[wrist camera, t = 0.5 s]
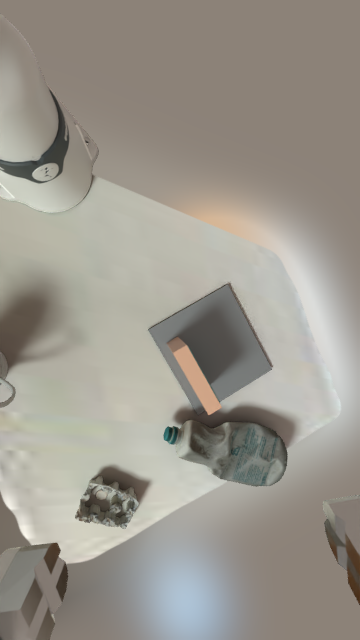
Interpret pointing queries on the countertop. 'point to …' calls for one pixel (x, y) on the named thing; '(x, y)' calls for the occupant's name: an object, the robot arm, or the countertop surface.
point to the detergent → (232, 450)
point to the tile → (194, 375)
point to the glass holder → (0, 374)
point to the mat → (214, 345)
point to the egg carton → (116, 506)
